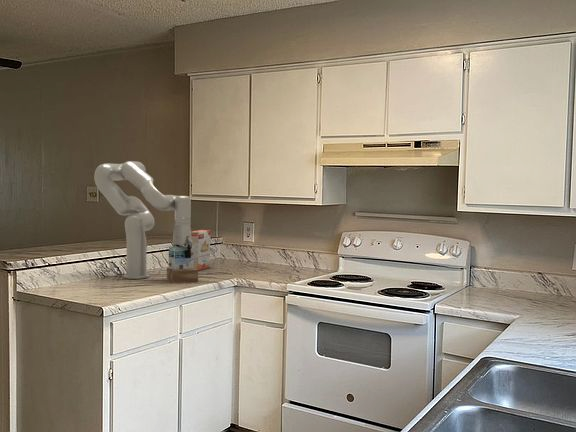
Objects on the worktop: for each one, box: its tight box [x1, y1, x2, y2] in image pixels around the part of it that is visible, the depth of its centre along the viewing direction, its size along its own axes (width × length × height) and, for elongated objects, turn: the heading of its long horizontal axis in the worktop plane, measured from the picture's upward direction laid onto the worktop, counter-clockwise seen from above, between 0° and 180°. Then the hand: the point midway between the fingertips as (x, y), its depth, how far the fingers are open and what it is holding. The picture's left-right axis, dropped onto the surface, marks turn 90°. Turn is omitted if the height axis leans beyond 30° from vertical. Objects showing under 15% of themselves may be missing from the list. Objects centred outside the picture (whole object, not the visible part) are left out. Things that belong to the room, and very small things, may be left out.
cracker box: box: [191, 229, 211, 272], centre depth 324 cm, size 14×6×21 cm, turn 161°
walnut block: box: [166, 267, 199, 284], centre depth 288 cm, size 12×12×6 cm
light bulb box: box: [168, 245, 194, 270], centre depth 288 cm, size 11×7×11 cm, turn 128°
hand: (182, 257), depth 288 cm, fingers open, 9 cm apart
